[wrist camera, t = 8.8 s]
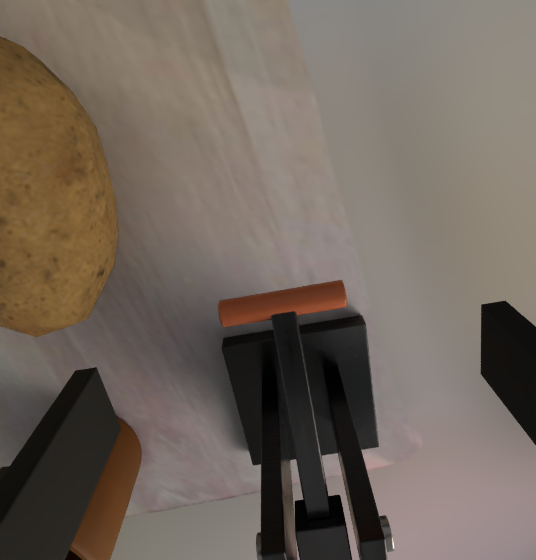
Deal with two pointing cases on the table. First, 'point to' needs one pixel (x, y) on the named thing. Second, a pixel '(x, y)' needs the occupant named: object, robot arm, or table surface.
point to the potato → (50, 200)
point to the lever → (300, 409)
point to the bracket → (329, 421)
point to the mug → (109, 500)
